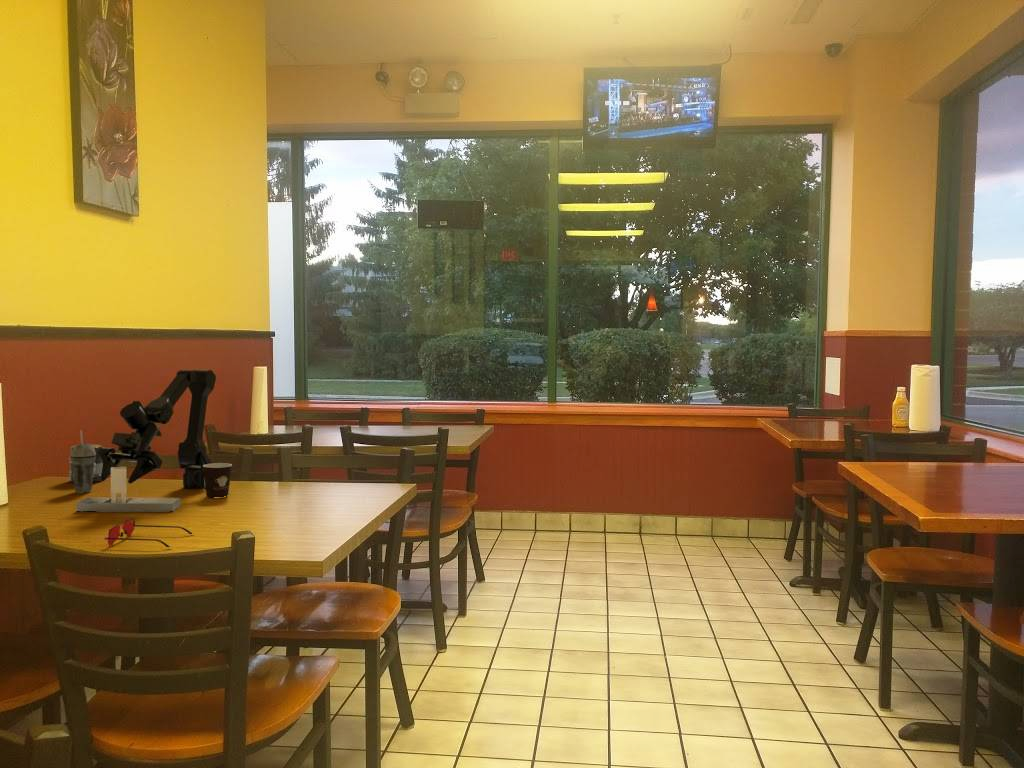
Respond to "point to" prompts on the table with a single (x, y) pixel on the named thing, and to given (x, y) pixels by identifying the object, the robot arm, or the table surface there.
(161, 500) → the rail
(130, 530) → the glasses
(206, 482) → the coffee mug
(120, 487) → the clip
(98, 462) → the supplement container
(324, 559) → the table surface
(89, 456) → the beverage cup
